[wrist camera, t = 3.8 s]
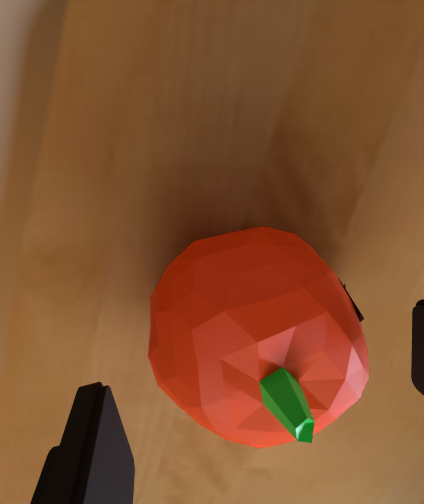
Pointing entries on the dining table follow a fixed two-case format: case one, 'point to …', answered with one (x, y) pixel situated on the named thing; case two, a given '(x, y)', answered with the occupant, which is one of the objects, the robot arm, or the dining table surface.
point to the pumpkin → (257, 338)
